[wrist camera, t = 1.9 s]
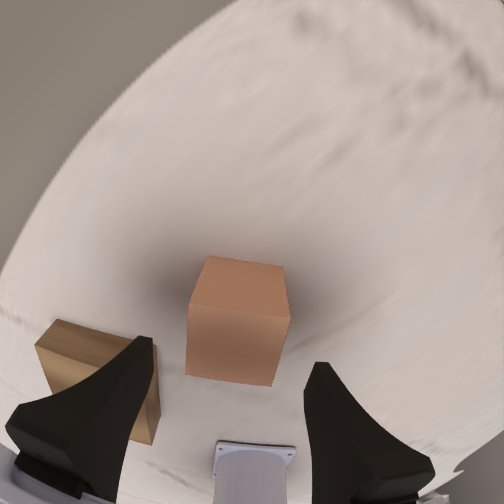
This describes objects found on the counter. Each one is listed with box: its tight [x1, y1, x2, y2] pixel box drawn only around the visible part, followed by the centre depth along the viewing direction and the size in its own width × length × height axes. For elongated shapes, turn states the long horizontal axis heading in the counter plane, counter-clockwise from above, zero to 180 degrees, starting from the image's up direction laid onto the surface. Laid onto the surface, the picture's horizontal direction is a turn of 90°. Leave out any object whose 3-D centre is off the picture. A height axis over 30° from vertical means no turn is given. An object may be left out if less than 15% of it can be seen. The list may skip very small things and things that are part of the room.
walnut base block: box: [34, 319, 161, 446], centre depth 20 cm, size 9×9×4 cm
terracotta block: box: [186, 256, 291, 387], centre depth 16 cm, size 4×4×6 cm
